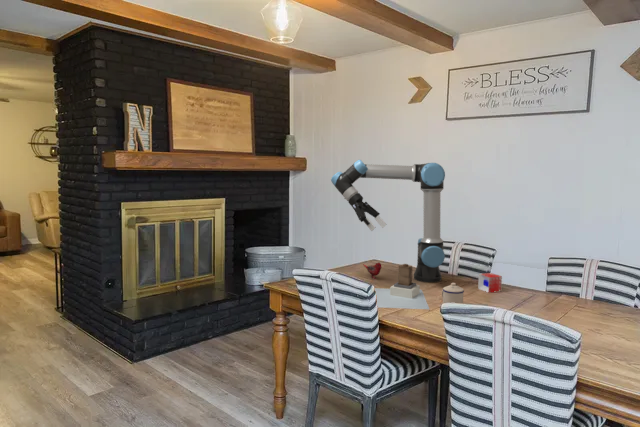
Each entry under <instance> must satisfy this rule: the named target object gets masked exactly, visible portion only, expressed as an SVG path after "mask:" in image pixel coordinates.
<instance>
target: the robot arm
mask: <svg viewBox="0 0 640 427" xmlns="http://www.w3.org/2000/svg"><path fill="white" fill-rule="evenodd" d="M361 178H362V179H381V180H382V179H383V180H384V179H385V180H386V179H387V180H389V179H390V180H402V181H403V180H405V181H406V180H408V181H412V182H414V183H415V182H416V183H420V190H421V191H422V192H423V236H422V237H423V238H418V241H417V258H416V259H417V264H416V268H415V271H414V274H413V279H414V280H415V281H418V282H422V283H423V282H424V283H437V282H441V281H442V277H443V276H442V272H441V269H440V266H441V265H442V264H443V263H444V262H445V257H446V255H445V251H444V240H443V239H442V238H441V192H443V190H444V187H445V186H444V181H445V178H446V171H445V168H444V167H443V166H442V165H440V164H439V163H437V162H427V163H422V164H421V163H418V164H417V163H414V164H412V165H398V164H397V165H396V164H395V165H394V164H391V165H390V164H373V163H372V164H368V163H367V164H365V163H364V162H363V161H362V159H358V160H356V161H355V162H354V163H353V164H351V165H350V166H349V167H348V168H347V169H346V170H345V171H344V172H342V171H338V172H336V173H334V174H333V175H332V177H331V179H330V180H331V184H332V185H334V187H335V188H336V189H337V191H338V192H339V193H340V194H341V196H343V198H344V200H346V201H347V203H348V204H349V205H350V206H351V207H352V209H353V210H354V212H355V215H356V216H357V218H358V220H359V222H361V223H362V222H363V223H364V224H365V225H366V226H367V227H368V228H369V230H370V231H371V232H373V231H374V230H376V226H375V225H374V224H373V222H372V221H371V219H370V218H368V217H367V216H366V213H367V214H368V215H370V216H372V217H374V220H375V221H376V222H377V224H378V225H379V226H380V228H382V229H383V228H384V227H386V225H387V223H386V222H385V221H384V219H383V218H381V216H380V214H381V213H380V212H378V211H377V209H375V208H374V207H373V206H372V205H370V204H369V203H368V202H367V201H365V202H364V201H363V200H364V197H363V196H362V194H360V192H359V191H358V189H356V187H355V186H354V185H353V184H354V183H355V182H356V181H357V180H359V179H361Z"/></svg>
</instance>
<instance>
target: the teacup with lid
mask: <svg viewBox="0 0 640 427" xmlns="http://www.w3.org/2000/svg"><path fill="white" fill-rule="evenodd" d="M464 292H465V290H464V288H463V287H461V286H459V285H457V283H455V282H452V283H450V285H447V286H444V287H443V288H442V290H441V297H442V304H443V303H446V302H455V303H463V304H464Z"/></svg>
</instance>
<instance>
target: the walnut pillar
mask: <svg viewBox="0 0 640 427" xmlns="http://www.w3.org/2000/svg"><path fill="white" fill-rule="evenodd" d="M397 282H398V284H399V285H405V286H410V285H412V282H413V265H410V264H408V263H403V264H400V265H399V266H398V280H397Z"/></svg>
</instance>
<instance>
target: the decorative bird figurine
mask: <svg viewBox="0 0 640 427" xmlns="http://www.w3.org/2000/svg"><path fill="white" fill-rule="evenodd" d="M362 265H363V266H364V267H365V268H366V269H367V272H368V273H369V274H370V276H371V278H372V279H373V280H374V279H375V280H378V278H377V277H376V276H378V275H379V274H380V272H381V269H382V264H381V262H376V263H375V264H374V265H373V264H372V265H366V264H362Z"/></svg>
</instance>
